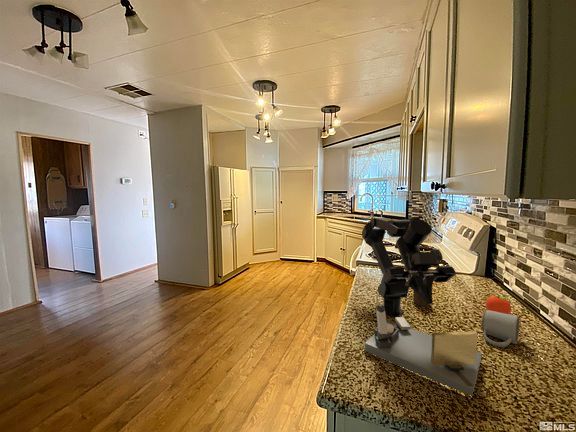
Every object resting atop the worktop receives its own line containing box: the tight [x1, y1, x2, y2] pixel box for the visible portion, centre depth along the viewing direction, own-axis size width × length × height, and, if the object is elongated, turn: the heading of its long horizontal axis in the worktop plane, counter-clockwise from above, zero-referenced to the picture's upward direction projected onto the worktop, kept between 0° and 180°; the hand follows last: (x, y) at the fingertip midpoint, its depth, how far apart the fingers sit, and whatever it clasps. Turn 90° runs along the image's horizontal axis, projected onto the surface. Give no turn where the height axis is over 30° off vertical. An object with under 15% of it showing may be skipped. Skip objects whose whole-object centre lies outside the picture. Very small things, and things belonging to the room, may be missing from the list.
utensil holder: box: [412, 290, 431, 307], centre depth 97 cm, size 6×6×12 cm
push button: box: [387, 323, 394, 335], centre depth 72 cm, size 4×4×2 cm
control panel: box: [364, 320, 482, 397], centre depth 66 cm, size 16×24×4 cm
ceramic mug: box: [480, 309, 520, 348], centre depth 73 cm, size 11×8×8 cm
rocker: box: [394, 316, 412, 330], centre depth 75 cm, size 4×3×1 cm, turn 2°
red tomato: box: [485, 295, 512, 315], centre depth 87 cm, size 8×7×7 cm
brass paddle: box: [431, 331, 478, 371], centre depth 58 cm, size 3×10×8 cm, turn 92°
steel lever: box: [375, 304, 390, 340], centre depth 68 cm, size 2×3×9 cm
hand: (430, 304), depth 67 cm, fingers closed
